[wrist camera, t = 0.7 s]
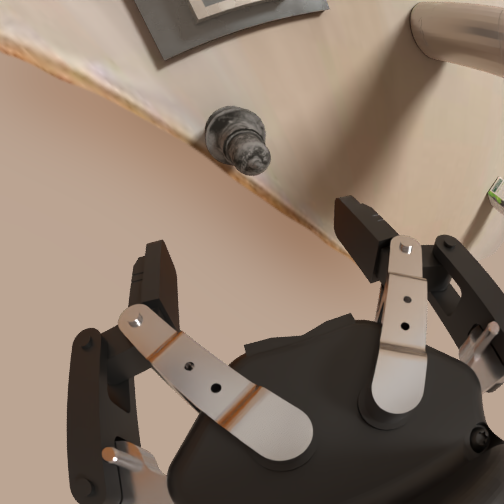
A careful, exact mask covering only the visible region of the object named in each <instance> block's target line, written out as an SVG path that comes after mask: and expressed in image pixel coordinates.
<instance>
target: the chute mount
mask: <svg viewBox="0 0 504 504" xmlns="http://www.w3.org/2000/svg"><path fill="white" fill-rule="evenodd" d="M134 1H135V3H136V5H137V7H138V9H139V11H140V13H141V15H142V17H143V19H144V21H145V23H146V25H147V27H148V29H149V31H150V33H151V35H152V37H153V39H154V41H155V43H156V45H157V47H158V49H159V51H160V53H161V55H162V57H163V59H164V61H166V60H168V59H170V58H172V57H174V56H176V55H178V54H181V53H183V52H185V51H187V50H190V49H192V48H194V47H197V46H199V45H202V44H204V43H207V42H209V41H212V40H215V39H217V38H220V37H223V36H226V35H228V34H231V33H234V32H237V31H240V30H244V29H247V28H250V27H253V26H257V25H260V24H264V23H268V22H271V21H275V20H279V19H284V18H288V17H292V16H297V15H302V14H307V13H313V12H319V11H325V10H329V6H328V4H327V1H326V0H134Z"/></svg>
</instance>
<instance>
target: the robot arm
mask: <svg viewBox="0 0 504 504" xmlns="http://www.w3.org/2000/svg"><path fill="white" fill-rule="evenodd" d="M410 21H411V30H412V33H413V36H414V39H415V41H416V43H417V45H418V46H419V48H420V49H421V50H422V51H423V53H424V54H426V55H427V56H428V57H430V58H432V59H436V60H441V61H446V62H450V63H454V64H458V65H462V66H466V67H470V68H474V69H477V70H481V71H484V72H487V73H491V74H494V75H497V76H500V77H503V78H504V8H501V7H495V6H488V5H480V4H469V3H455V2H421V3H418V4H417V5H415V7H414V8H413V10H412V13H411V18H410ZM334 230H335V234H336V236H337V238H338V239H339V241H340V242H341V243H342V245H343V246H344V247H345V249H346V250H347V251H348V253H349V254H350V255H351V257H352V258H353V260H354V261H355V262H356V264H357V265H358V266H359V268H360V269H361V271H362V272H363V273H364V275H365V276H366V278H367V279H368V280H369V282H370V283H373V282H376V281H380V282H381V287H380V293H379V299H378V306H377V311H376V317H375V321H369V320H354V318H353V316H352V314H351V313H349V314H346V315H343V316H341V317H338V318H335V319H332V320H329V321H326V322H324V323H323V324H321V325H319V326H318V327H316V328H315V329H313V330H311V331H309V332H308V333H306V334H304V335H302V336H292V337H276V338H269V339H265V340H262V341H258V342H254V343H250V344H246V345H244V347H245V351H246V353H245V354H243V355H241V356H239V357H238V358H236V359H235V360H234V361H233V362H231V364H229V365H228V366H227V365H226V364H225V363H223V362H222V361H221V360H220V359H218V358H217V357H215V356H214V355H213V354H211V353H210V352H209V351H208V350H206V349H205V348H204V347H202V346H201V345H200V344H198V343H197V342H196V341H194V340H193V339H192V338H191V337H190V336H188V335H187V334H186V333H184V332H183V331H180V328H179V327H180V326H179V312H178V311H179V310H178V293H177V292H178V291H177V275H176V270H175V267H174V265H173V262H172V260H171V257H170V255H169V252H168V250H167V247H166V245H165V242H164V241H163V240H159V241H156V242H152V243H148V244H147V245H146V253H145V256H143V257H139V258H138V260H137V261H136V263H135V265H134V267H133V273H132V275H133V276H132V280H131V281H132V283H131V288H130V297H129V305H128V308H127V309H125V310H124V311H123V313H122V314H121V315H120V317H119V320H118V325H116V326H115V327H113V328H111V329H109V330H107V331H105V332H103V333H100V332H99V331H98V330H97V329H95V328H88V329H85V330H83V331H81V332H80V333H79V334H78V335H77V336H76V338H75V340H74V342H73V346H72V353H71V362H70V372H69V384H68V401H67V455H68V471H69V482H70V489H71V493H72V495H73V497H74V498H75V500H77V502H78V503H79V504H504V441H503V440H502V439H500V438H499V437H498V436H497V435H495V434H494V433H493V432H492V431H491V430H490V428H489V427H488V425H487V423H486V420H485V416H484V411H483V404H482V394H483V393H485V392H488V393H489V392H493V391H495V390H496V389H497V388H498V387H500V386H501V385H502V384H503V383H504V293H503V292H502V291H501V289H500V288H499V287H498V285H497V284H496V283H495V282H494V280H493V279H492V278H491V277H490V276H489V274H488V273H487V272H486V271H485V270H484V268H483V267H482V266H481V265H480V264H479V263H478V261H477V260H476V259H475V258H474V257H473V256H472V255H471V254H470V253H469V251H468V250H467V249H466V248H465V247H464V246H463V245H462V244H461V243H460V242H459V241H458V240H457V239H456V238H454V237H452V236H449V235H440V236H438V237H437V238H436V240H435V244H434V245H420V243H419V242H418V241H417V240H416V239H414V238H412V237H410V236H405V235H399V234H398V233H397V232H396V231H395V230H394V229H393V228H392V227H391V226H390V225H389V224H388V223H387V222H386V221H385V220H383V218H382V217H381V216H380V215H378V213H377V212H376V211H375V210H374V209H372V208H371V207H369V206H367V205H365V204H363V203H362V204H360V203H359V202H358V201H357V200H356V199H355V198H354V197H353V196H351V195H350V196H345V197H340V198H336V200H335V210H334ZM451 278H453V279H454V280H455V282H456V283H457V284H458V286H459V287H460V289H461V293H462V296H461V298H460V296H459V295H458V294H457V292H456V291H455V289H454V288H453V287H452V285H451V284H450V281H451ZM427 300H428V301H429V302H430V304H431V306H432V307H433V308H434V310H435V312H436V313H437V315H438V316H439V318H440V319H441V321H442V322H443V324H444V326H445V327H446V329H447V330H448V332H449V333H450V335H451V337H452V338H453V340H454V342H455V344H456V345H457V347H458V349H459V359H460V360H458V359H456V358H453V357H451V356H449V355H447V354H445V353H443V352H440V351H438V350H436V349H434V348H432V347H430V346H428V345H425V344H426V328H427V327H426V326H427ZM149 368H152V369H153V370H154V371H155V372H156V373H157V374H158V375H159V376H160V377H161V378H162V379H163V380H164V381H165V382H166V383H167V384H168V385H169V386H170V387H171V388H172V389H173V390H174V391H175V392H176V393H177V394H178V395H180V396H181V398H183V399H184V400H185V401H186V402H187V403H188V404H189V405H190V406H191V407H192V408H193V409H194V410H195V411H197V412H198V413H199V415H198V417H197V419H196V420H195V422H194V424H193V426H192V428H191V429H190V431H189V433H188V435H187V436H186V438H185V440H184V442H183V443H182V445H181V447H180V449H179V450H178V452H177V454H176V455H175V457H174V459H173V461H172V462H171V464H170V466H169V469H168V473H167V475H165V474H164V473H162V472H161V470H160V469H159V467H158V465H157V462H156V460H155V458H154V456H153V455H152V454H151V453H150V452H149V451H147V450H145V449H143V448H141V444H140V437H139V430H138V421H137V410H136V399H135V387H134V376H135V375H137V374H139V373H141V372H143V371H145V370H147V369H149Z"/></svg>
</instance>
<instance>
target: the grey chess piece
mask: <svg viewBox="0 0 504 504" xmlns="http://www.w3.org/2000/svg"><path fill="white" fill-rule="evenodd" d="M205 131H206V135H205V140H206V145H207V148H208V151H209V152H210V154H211V155H212V156H213V157H214V158H215V159H216V160H218V161H219V162H222V163H224V164H228V165H234V166H235V167H236V169H237V170H238V171H240V172H241V173H243V174H245V175H249V176H254V175H258V174H260V173H262V172H264V171H265V170H266V169H267V167H268V166H269V164H270V161H271V156H270V152H269V149H268V148H267V147H266V146H265V136H266V132H265V128H264V124H263V123H262V121H261V119H260V118H259V117H258V116H257V115H256V114H255V113H253V112H251V111H249V110H247V109H243V108H240V107H235V106H226V107H223V108H220V109H218V110H217V111H215V112H214V113H213V114H212V115H211V116H210V117H209V119H208V121H207V124H206V128H205Z"/></svg>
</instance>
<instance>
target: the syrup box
mask: <svg viewBox="0 0 504 504" xmlns="http://www.w3.org/2000/svg"><path fill="white" fill-rule="evenodd" d="M488 196H489V200H490V203H491V205H492V206H493V207H494V208H495V209H497V210H498V211H499V212H500V213H502V214H503V215H504V180H503V179H502V178H501V177H499V176H498V178H497V180H496V182H495V183H494V185H493V186H492V188H491V189H490V190H489V192H488Z"/></svg>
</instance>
